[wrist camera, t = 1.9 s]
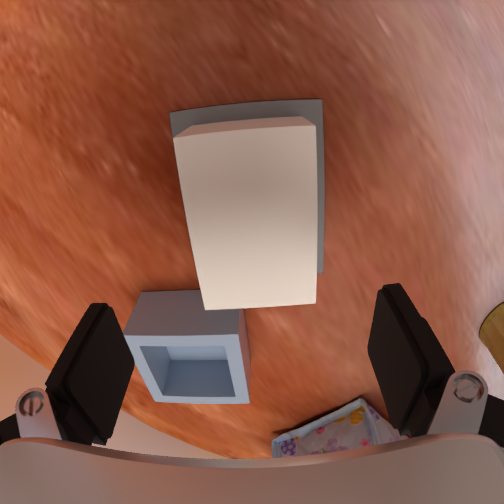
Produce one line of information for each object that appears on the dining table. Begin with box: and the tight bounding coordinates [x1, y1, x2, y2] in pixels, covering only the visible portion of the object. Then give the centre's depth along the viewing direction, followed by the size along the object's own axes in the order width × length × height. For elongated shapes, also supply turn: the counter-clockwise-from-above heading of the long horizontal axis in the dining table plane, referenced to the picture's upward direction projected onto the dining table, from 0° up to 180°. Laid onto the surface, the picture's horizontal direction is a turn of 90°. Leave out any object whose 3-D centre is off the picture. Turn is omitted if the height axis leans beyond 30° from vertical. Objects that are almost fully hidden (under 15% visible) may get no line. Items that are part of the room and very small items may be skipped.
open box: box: [123, 289, 251, 404], centre depth 24 cm, size 8×8×5 cm
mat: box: [169, 99, 325, 276], centre depth 20 cm, size 12×9×1 cm
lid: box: [173, 116, 318, 310], centre depth 18 cm, size 10×6×4 cm, turn 5°
